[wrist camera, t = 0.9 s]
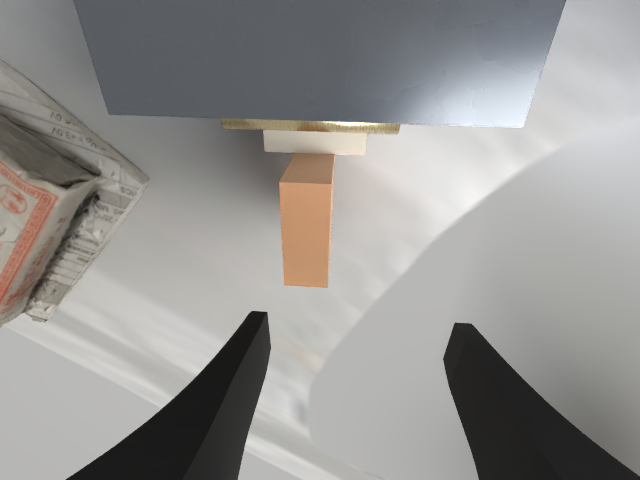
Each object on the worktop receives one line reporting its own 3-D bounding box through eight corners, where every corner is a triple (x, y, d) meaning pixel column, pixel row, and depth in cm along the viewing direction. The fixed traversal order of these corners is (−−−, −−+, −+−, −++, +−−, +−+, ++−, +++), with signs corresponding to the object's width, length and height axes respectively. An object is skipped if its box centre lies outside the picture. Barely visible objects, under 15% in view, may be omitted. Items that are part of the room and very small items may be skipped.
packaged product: (6, 359, 23) (-152, 280, 20) (58, 313, 27) (-66, 242, 24) (109, 207, 16) (-115, 46, 13) (158, 176, 20) (-1, 49, 17)
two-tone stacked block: (383, -60, 12) (405, -127, 7) (356, 235, 18) (359, 289, 14) (254, -60, 12) (204, -125, 8) (273, 231, 19) (252, 283, 14)
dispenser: (525, -112, 12) (641, -221, 7) (468, 117, 16) (518, 141, 12) (132, -110, 13) (9, -207, 8) (176, 108, 17) (112, 127, 13)
